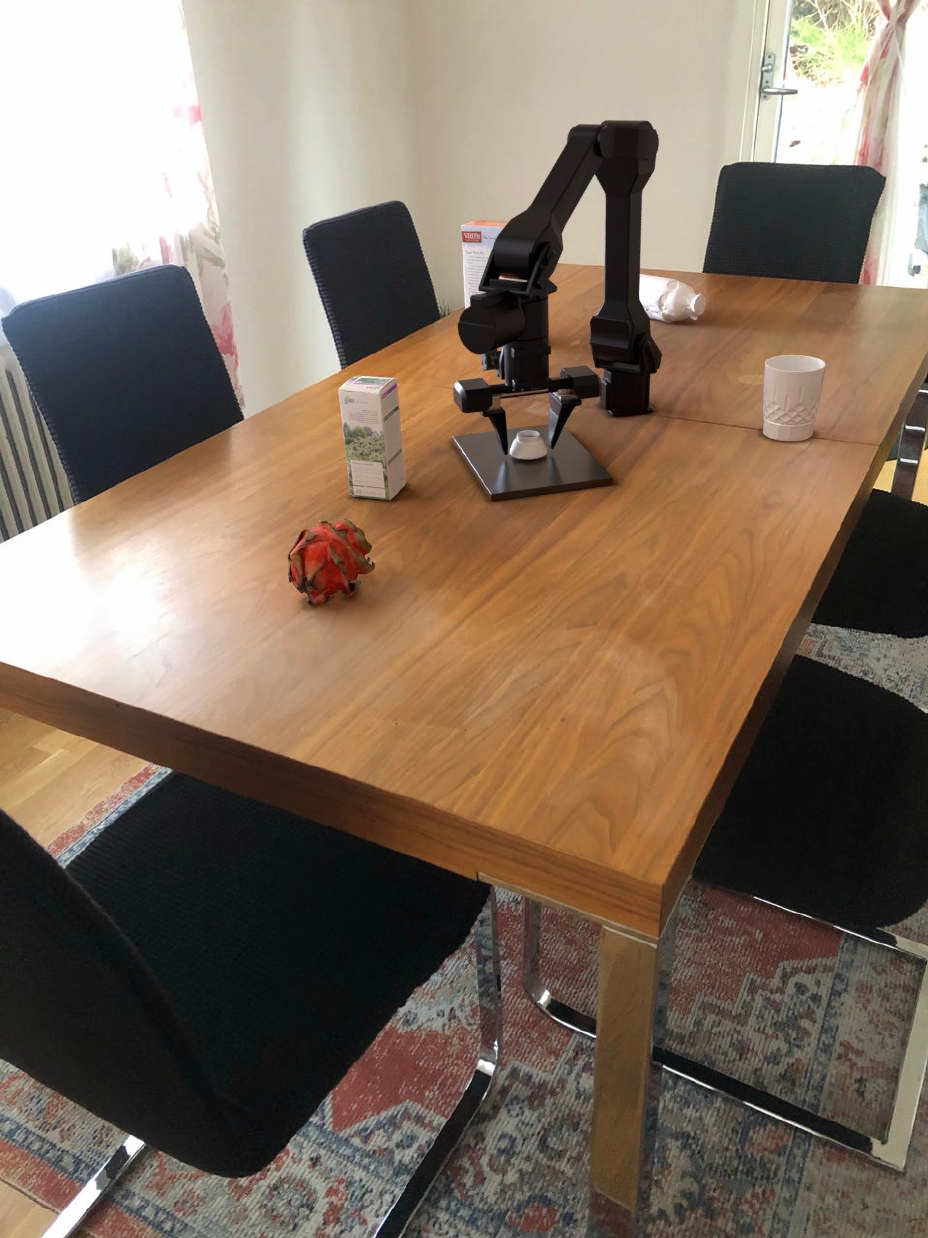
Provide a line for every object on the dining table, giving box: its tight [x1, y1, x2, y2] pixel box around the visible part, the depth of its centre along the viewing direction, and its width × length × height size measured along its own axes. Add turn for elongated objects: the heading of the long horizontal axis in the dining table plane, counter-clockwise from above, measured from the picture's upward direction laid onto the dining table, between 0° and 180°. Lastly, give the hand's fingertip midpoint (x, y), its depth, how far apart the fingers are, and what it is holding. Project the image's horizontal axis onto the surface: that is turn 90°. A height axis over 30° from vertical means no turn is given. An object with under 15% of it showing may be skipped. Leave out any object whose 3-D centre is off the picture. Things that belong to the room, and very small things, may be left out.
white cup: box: [762, 354, 827, 443], centre depth 142 cm, size 8×8×10 cm
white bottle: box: [639, 273, 707, 324], centre depth 199 cm, size 8×19×8 cm, turn 41°
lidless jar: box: [510, 431, 547, 460], centre depth 139 cm, size 5×3×5 cm
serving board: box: [452, 423, 614, 502], centre depth 140 cm, size 16×22×1 cm
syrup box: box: [337, 375, 407, 501], centre depth 130 cm, size 6×6×14 cm
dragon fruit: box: [287, 518, 376, 607], centre depth 109 cm, size 8×8×12 cm
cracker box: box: [461, 219, 526, 310], centre depth 188 cm, size 14×6×21 cm, turn 58°
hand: (528, 451), depth 139 cm, fingers open, 6 cm apart
